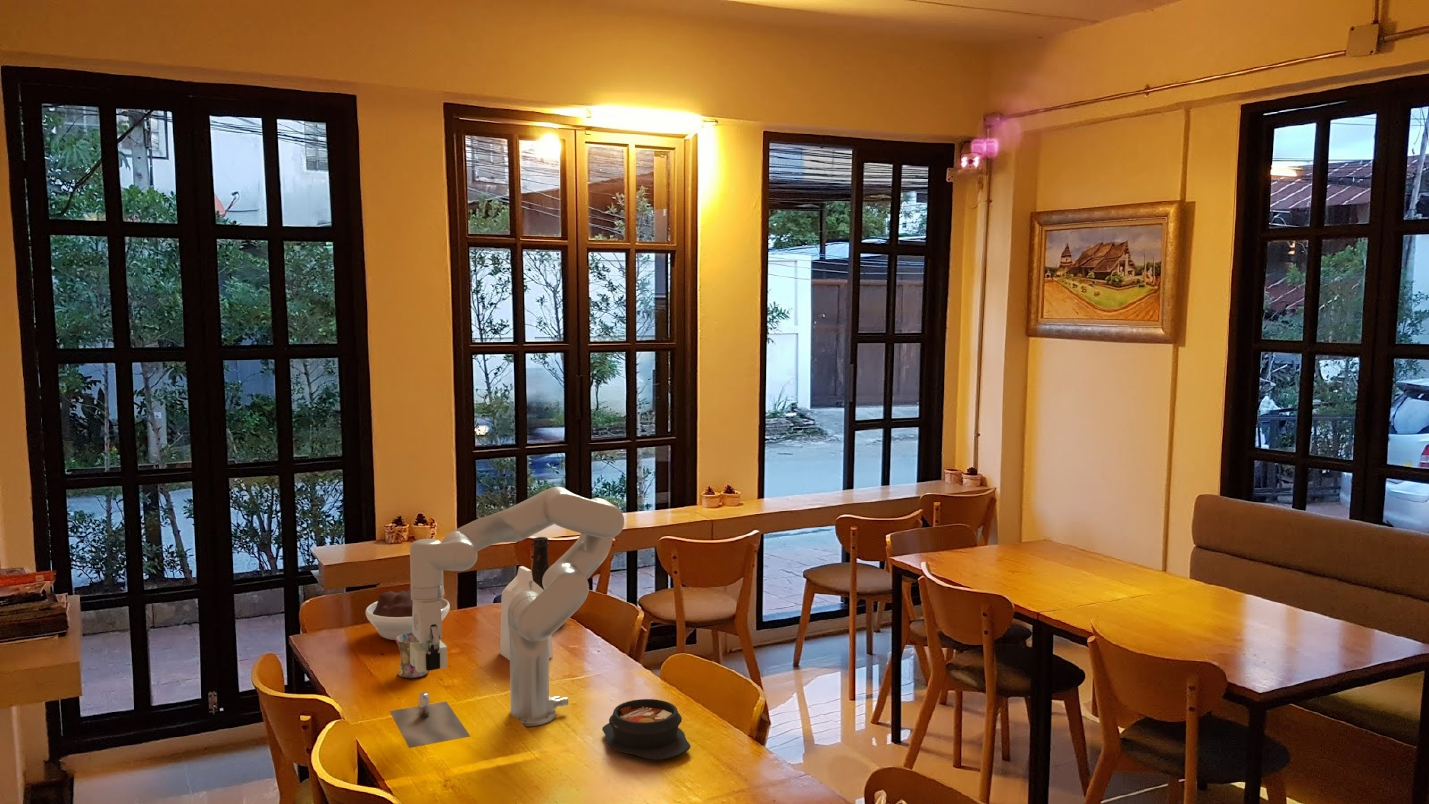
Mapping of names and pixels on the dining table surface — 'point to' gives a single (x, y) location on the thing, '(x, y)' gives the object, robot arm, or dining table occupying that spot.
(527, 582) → the milk
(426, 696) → the post
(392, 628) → the bowl of chocolate mousse
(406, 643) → the mug
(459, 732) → the board
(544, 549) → the glass bottle
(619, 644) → the dining table surface
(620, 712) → the casserole
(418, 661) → the white rectangular block
